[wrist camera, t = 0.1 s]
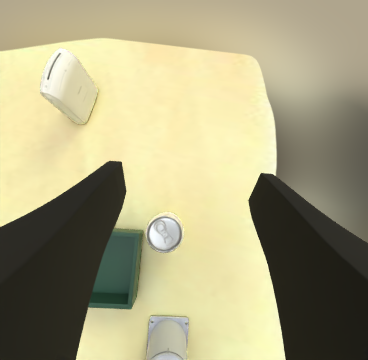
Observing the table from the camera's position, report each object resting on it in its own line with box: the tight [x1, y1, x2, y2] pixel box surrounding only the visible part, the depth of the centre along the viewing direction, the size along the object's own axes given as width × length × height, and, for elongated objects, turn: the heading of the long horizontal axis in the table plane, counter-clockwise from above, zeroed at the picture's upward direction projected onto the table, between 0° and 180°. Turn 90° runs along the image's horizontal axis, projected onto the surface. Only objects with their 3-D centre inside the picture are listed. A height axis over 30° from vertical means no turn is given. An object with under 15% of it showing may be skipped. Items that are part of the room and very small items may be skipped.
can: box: [146, 212, 184, 253], centre depth 34 cm, size 6×6×12 cm
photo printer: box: [40, 48, 98, 124], centre depth 37 cm, size 10×4×12 cm, turn 165°
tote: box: [88, 229, 143, 309], centre depth 36 cm, size 14×14×5 cm
